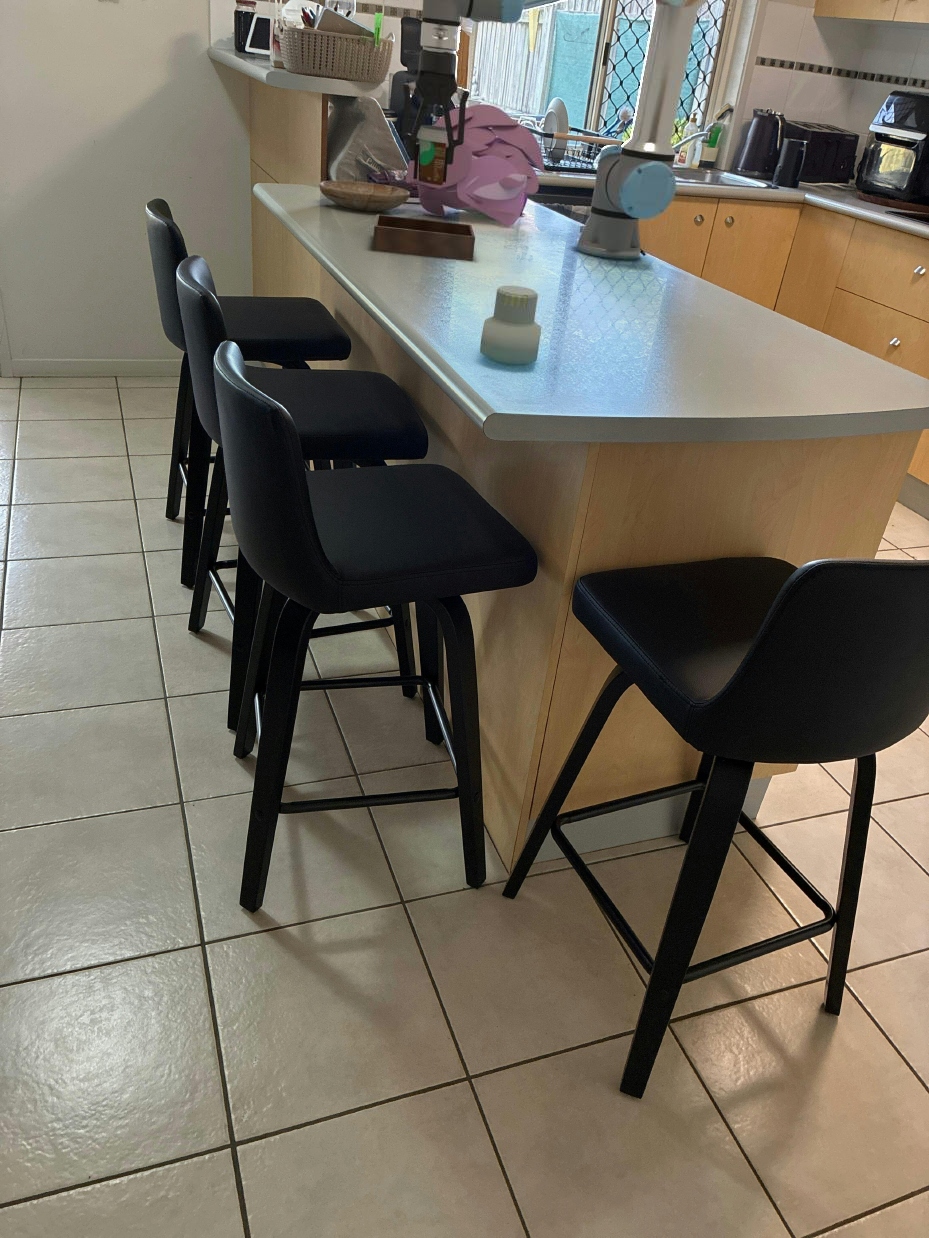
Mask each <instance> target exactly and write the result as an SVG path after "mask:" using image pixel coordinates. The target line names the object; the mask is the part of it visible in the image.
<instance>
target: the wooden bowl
mask: <svg viewBox="0 0 929 1238" xmlns="http://www.w3.org/2000/svg"><path fill="white" fill-rule="evenodd" d="M318 187H319V190H320V192H321V194H322V195H323V196H324V197H325V198H326V199H328V200H329V201H331V202H332V203H333V204H336V205H338V206H341V207H343V208H347V209H352V210H359V211H367V212H383V211H384V212H385V211H389V210H393V209H396V208H398V207H401V206H402V205H403V204H405V203H406V202H407V201H408V200H409V199H410V191H409V190H407V189H404V188H401V187H397V186H394V185H388V184H381V183H373V182H365V181H357V180H356V181H355V180H337V179H335V180H325V181H321V182H319V186H318Z"/></svg>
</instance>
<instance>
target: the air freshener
mask: <svg viewBox="0 0 929 1238" xmlns="http://www.w3.org/2000/svg"><path fill="white" fill-rule="evenodd" d="M538 297H539V295H538V292H537V291H536V290H534V289H531V288H529V287H525V286H519V285H501V286H499V287H498V288H497V289H496V295H495V303H494V310H493V315H492V316H489V317H486V318H485V319H484V322H483V326H482V330H481V337H480V346H479V347H480V348H479V352H480V353H481V354H482V356H484V357H486V358H487V359H488V360H490V361H491V362H494V363H498V364H502V365H507V366H526V365H529V364H531V363H534V362H536V361H537V360H538V354H539V349H540V341H541V333H542V326H541V325H540V324H539V323H538V322H536V321H535V320H536V319H535V318H536V313H537V312H536V311H537V304H538Z"/></svg>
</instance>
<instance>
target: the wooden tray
mask: <svg viewBox="0 0 929 1238" xmlns="http://www.w3.org/2000/svg"><path fill="white" fill-rule="evenodd" d="M372 241H373V242H372V251H374V252H384V253H393V254H401V255H403V254H404V255H413V256H421V257H422V256H423V257H432V258H439V259H450V260H458V261H459V260H460V261H468V262H473V261H474V253H475V243H476V236H475V233H474V229H473V226H472V224H468V223H467V224H466V223H460V222H459V223H458V222H449V221H439V220H431V219H423V218H413V217H405V216H395V215H386V214H379V213H378V214H376V216H375V222H374V226H373V240H372Z"/></svg>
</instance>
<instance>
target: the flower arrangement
mask: <svg viewBox="0 0 929 1238" xmlns="http://www.w3.org/2000/svg"><path fill="white" fill-rule="evenodd" d="M449 113H450V119H451V125H452V131H453V137H454V139H457V137H458V118H459V107H457V108H453V109H451V110H449ZM431 126H441V127H446V126H445V120H444V114H443V115H442V116H441V117H439V118H438V120H436V122H435V123H434V124H433V125H431ZM417 143H419V141H418V142H417ZM446 146H447V147H448V138H447V140H446ZM543 157H544V156H543V152H542V149H541V147H540V143H539V142H538V140H537V138H536V137H535V135H534V134H533V133H532V131H530V130H529V128H527V127H525V126H524V125H522V124H521V123H518V122H517V121H515V120H514V119H512V117H510V115H508V114H507V112H505V111H504V110H503V109H501V108H499V107H498V106H494V105H491V104H485V103H482V104H481V103H480V104H479V103H478V104H474V105H471V106H468V107H466V109H465V126H464V142H463V144H462V145H459V146H456V147H455V148H454V157H453V163H452V165H449V164H447V176H446V182H443V185H435V184H429V183H425V182H421V181H419V156H418V172H417V179H413V176H414V161H411V160H410V159H409V162H408V165H407V168H406V173H405V182H406V184H411V185H417V189H418V199H419V200H418V201H419V203H420V205H421V207H422V208H423V209H424V210H425V211H426V212H427V213H429V214H432V215H435V216H439V217H445V216H446V212H445V208H444V207H448V208H451V209H454V210H457V211H463V212H466V213H470V214H478V215H483V216H487V217H490V218H491V219H494V220H495V221H497V222H499V223H500V224H503V225H504V226H505V227H508V228H509V227H511V226H513V225H514V224H515V223H516V222H517V221H518V220H519V218H522V219H523V218H524V217H526V216H527V214H526V213H524V210H525V208H526V204H527V201H528V194H529V195H535V194H536V193H537V192H538V191H539V184H540V183H539V177H538V175H537V172H536V170H535V168H537V169H538V170H539V171H540V172H542V173H543V174H546V172H545V164H544V163H545V162H544V158H543ZM532 165H533V166H534V167H535V168H534V167H533V166H532Z"/></svg>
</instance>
